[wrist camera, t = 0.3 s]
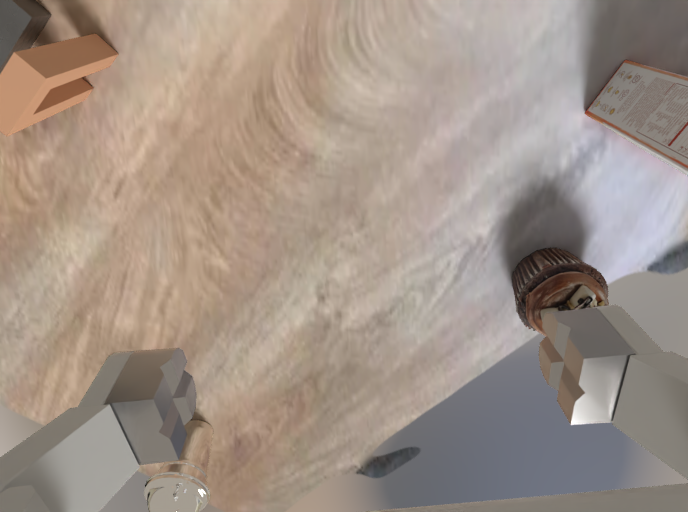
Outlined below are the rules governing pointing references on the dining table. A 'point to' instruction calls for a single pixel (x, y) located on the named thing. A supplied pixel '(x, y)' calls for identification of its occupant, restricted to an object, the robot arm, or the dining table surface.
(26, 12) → the rail
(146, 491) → the cup with straw
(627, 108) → the cracker box
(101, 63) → the clip
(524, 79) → the dining table surface
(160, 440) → the robot arm
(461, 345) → the dining table surface
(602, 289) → the cupcake
